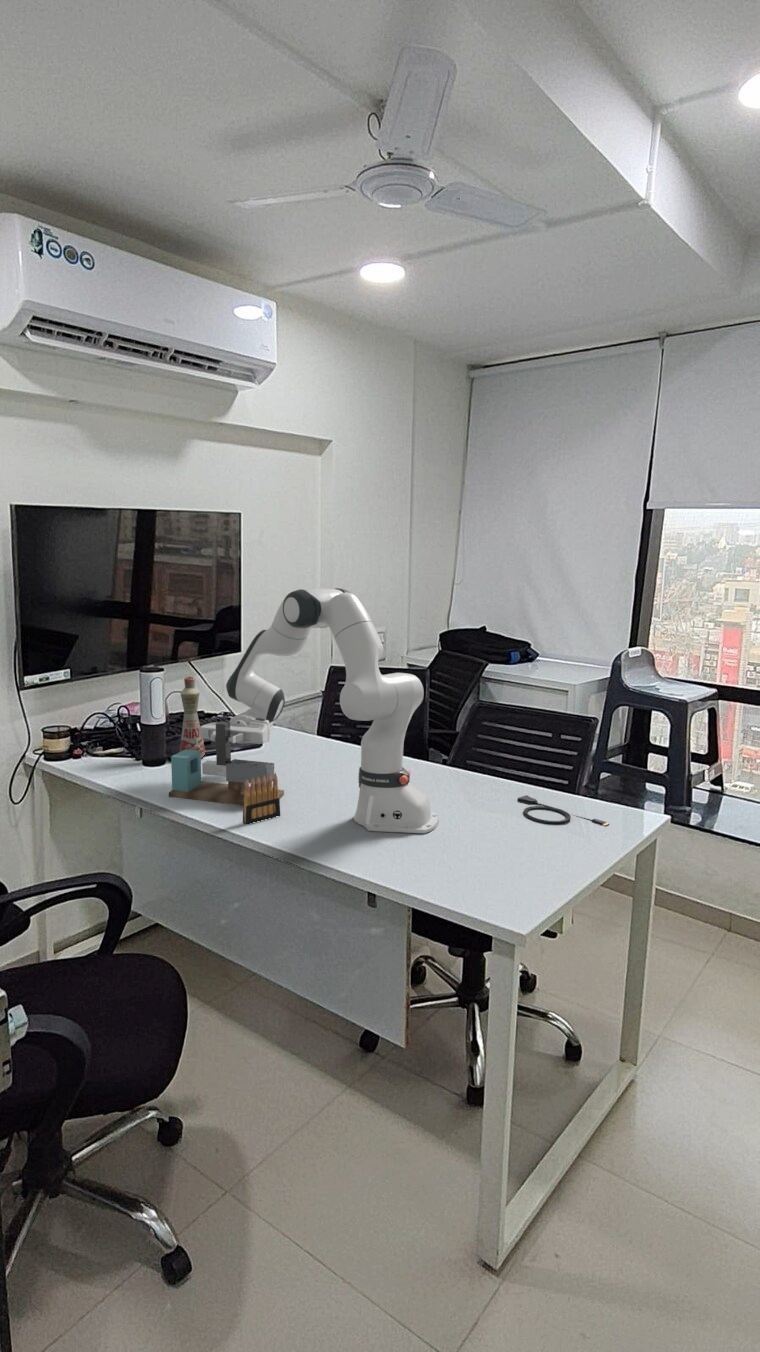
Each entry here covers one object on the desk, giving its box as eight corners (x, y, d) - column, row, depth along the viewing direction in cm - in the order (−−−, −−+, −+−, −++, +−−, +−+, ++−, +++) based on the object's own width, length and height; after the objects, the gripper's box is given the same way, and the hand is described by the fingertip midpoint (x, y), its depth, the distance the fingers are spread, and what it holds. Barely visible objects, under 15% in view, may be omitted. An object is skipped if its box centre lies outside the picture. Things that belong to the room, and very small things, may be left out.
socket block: (201, 783, 230) (200, 750, 228) (187, 791, 222) (186, 758, 221) (186, 781, 231) (185, 749, 230) (172, 790, 224) (171, 756, 222)
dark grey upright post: (268, 777, 221) (267, 725, 218) (263, 780, 218) (262, 728, 215) (207, 771, 226) (206, 720, 223) (202, 774, 223) (201, 722, 220)
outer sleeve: (274, 779, 222) (274, 763, 221) (267, 785, 217) (266, 767, 216) (234, 775, 225) (234, 759, 224) (226, 780, 220) (226, 763, 219)
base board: (284, 795, 226) (283, 776, 225) (267, 808, 214) (266, 789, 213) (189, 784, 234) (189, 767, 233) (168, 797, 222) (168, 778, 221)
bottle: (204, 753, 267) (202, 673, 262) (207, 760, 259) (205, 678, 254) (178, 755, 265) (175, 674, 260) (180, 762, 256) (177, 679, 251)
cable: (579, 839, 197) (580, 833, 197) (494, 809, 218) (494, 804, 218) (609, 826, 206) (609, 821, 206) (524, 799, 227) (524, 794, 227)
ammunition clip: (246, 825, 202) (245, 780, 200) (242, 823, 203) (241, 779, 201) (280, 816, 209) (280, 773, 207) (276, 814, 210) (276, 771, 208)
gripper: (211, 715, 236) (188, 725, 222) (274, 720, 230) (254, 731, 217) (212, 735, 237) (189, 747, 223) (274, 741, 231) (254, 753, 218)
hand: (221, 739), depth 220 cm, fingers open, 4 cm apart
